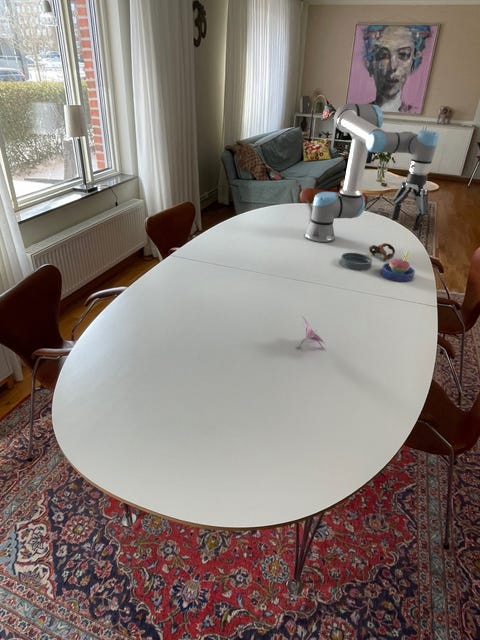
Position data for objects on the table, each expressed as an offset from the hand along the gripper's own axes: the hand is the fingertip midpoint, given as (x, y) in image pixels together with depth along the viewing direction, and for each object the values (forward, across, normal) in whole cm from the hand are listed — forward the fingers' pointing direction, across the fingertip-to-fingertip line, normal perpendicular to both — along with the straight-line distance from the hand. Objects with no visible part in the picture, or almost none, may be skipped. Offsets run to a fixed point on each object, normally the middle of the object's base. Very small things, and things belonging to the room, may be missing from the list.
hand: (404, 225), depth 182 cm
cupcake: (+22, +2, +1) cm, 22 cm away
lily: (+22, +44, -64) cm, 81 cm away
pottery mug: (+23, -18, +6) cm, 30 cm away
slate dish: (+23, -13, -11) cm, 28 cm away
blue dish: (+22, +2, +1) cm, 23 cm away
